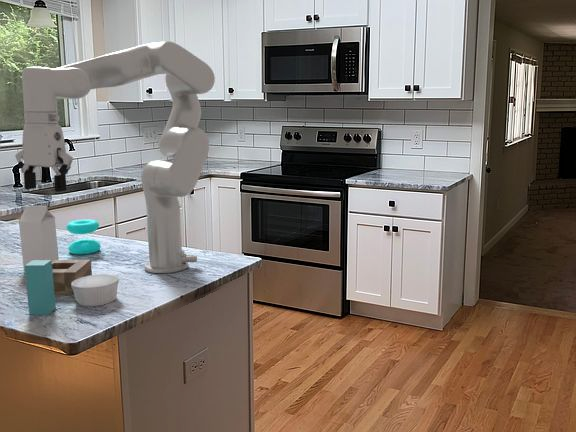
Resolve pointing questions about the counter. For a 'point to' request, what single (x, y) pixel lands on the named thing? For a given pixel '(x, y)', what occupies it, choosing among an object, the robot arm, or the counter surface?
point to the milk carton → (38, 234)
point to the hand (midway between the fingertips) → (45, 189)
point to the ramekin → (95, 289)
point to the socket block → (68, 274)
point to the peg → (40, 287)
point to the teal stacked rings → (84, 244)
